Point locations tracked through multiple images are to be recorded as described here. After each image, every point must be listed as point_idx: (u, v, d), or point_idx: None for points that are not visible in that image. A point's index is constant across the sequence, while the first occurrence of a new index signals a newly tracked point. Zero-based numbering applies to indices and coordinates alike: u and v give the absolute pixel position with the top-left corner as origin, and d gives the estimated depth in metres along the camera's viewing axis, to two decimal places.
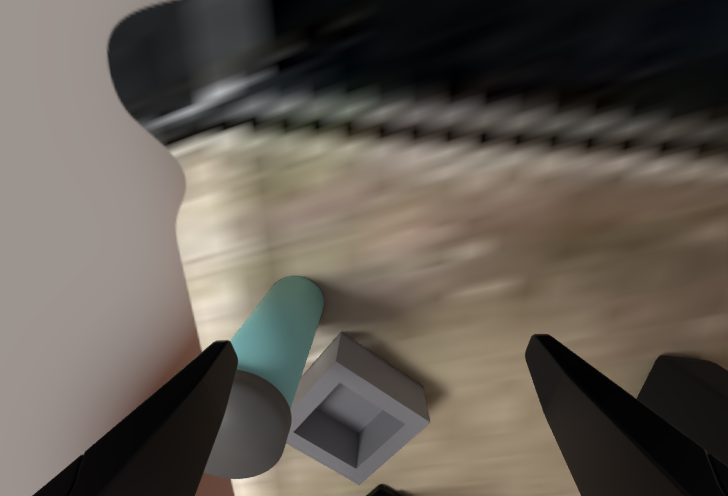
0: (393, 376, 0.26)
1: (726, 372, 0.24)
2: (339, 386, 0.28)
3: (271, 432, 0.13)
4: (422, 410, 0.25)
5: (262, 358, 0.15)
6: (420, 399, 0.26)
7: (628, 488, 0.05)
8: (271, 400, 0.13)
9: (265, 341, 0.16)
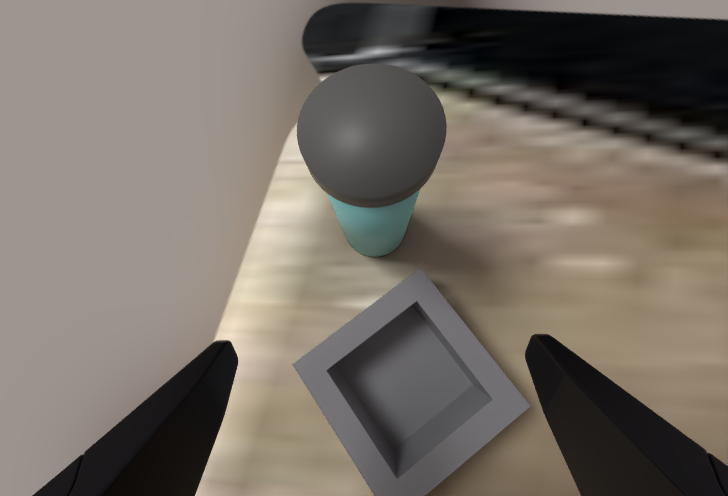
0: None
1: None
2: (391, 351, 0.21)
3: (431, 131, 0.10)
4: None
5: None
6: None
7: (628, 488, 0.05)
8: None
9: None
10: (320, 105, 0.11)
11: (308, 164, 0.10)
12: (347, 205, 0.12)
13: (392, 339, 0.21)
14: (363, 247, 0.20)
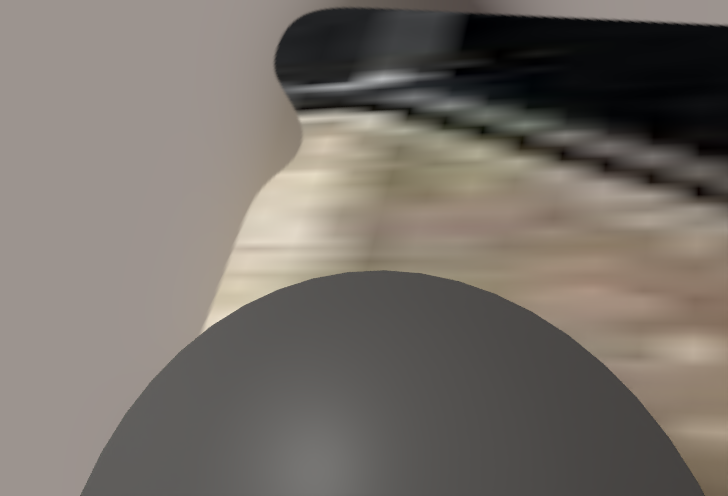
0: None
1: None
2: None
3: None
4: None
5: None
6: None
7: None
8: None
9: None
10: (165, 472, 0.03)
11: None
12: None
13: None
14: None
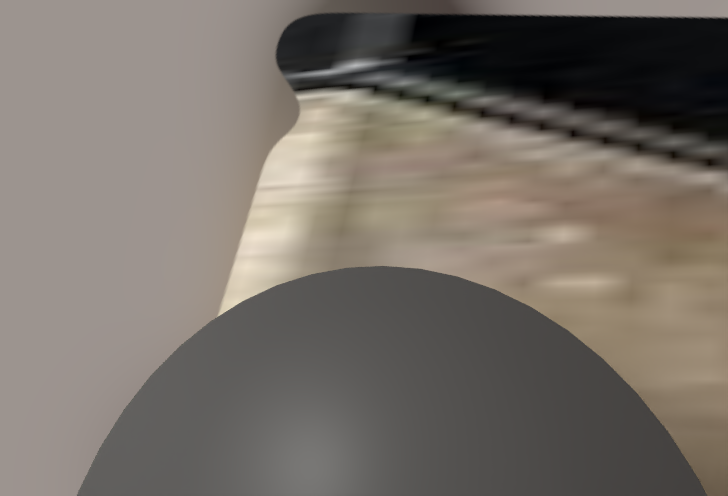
0: None
1: None
2: None
3: None
4: None
5: None
6: None
7: None
8: None
9: None
10: (163, 468, 0.03)
11: None
12: None
13: None
14: None
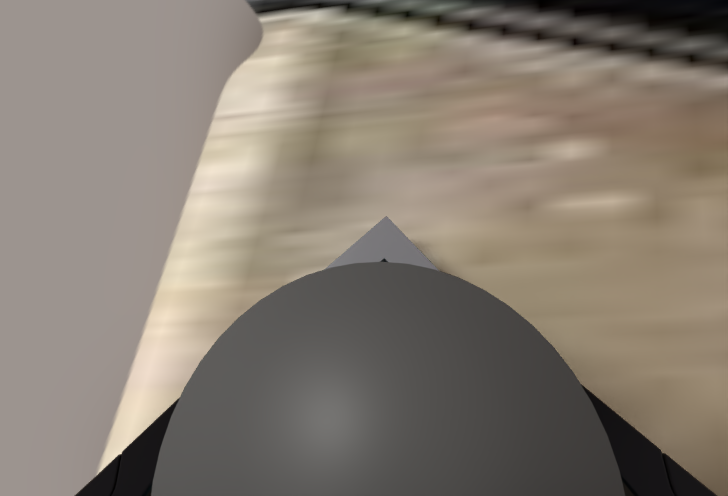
0: None
1: None
2: None
3: None
4: None
5: None
6: None
7: None
8: None
9: None
10: (230, 399, 0.04)
11: None
12: None
13: None
14: None
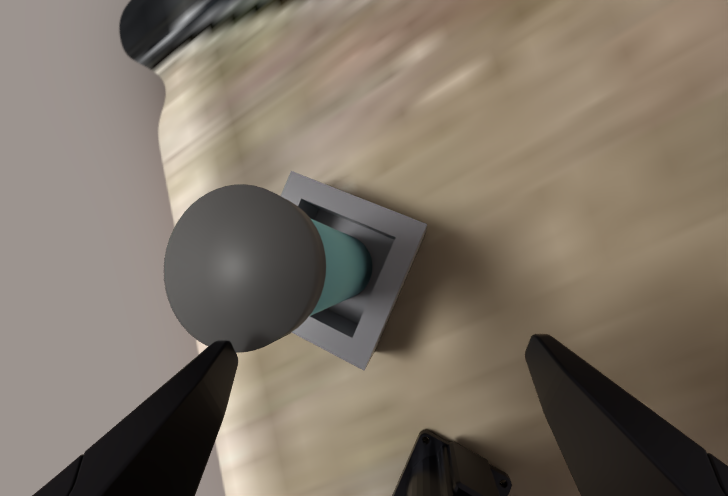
0: None
1: None
2: None
3: (294, 246, 0.09)
4: None
5: None
6: None
7: (628, 488, 0.05)
8: (295, 207, 0.10)
9: None
10: (179, 265, 0.10)
11: (194, 335, 0.10)
12: None
13: None
14: None
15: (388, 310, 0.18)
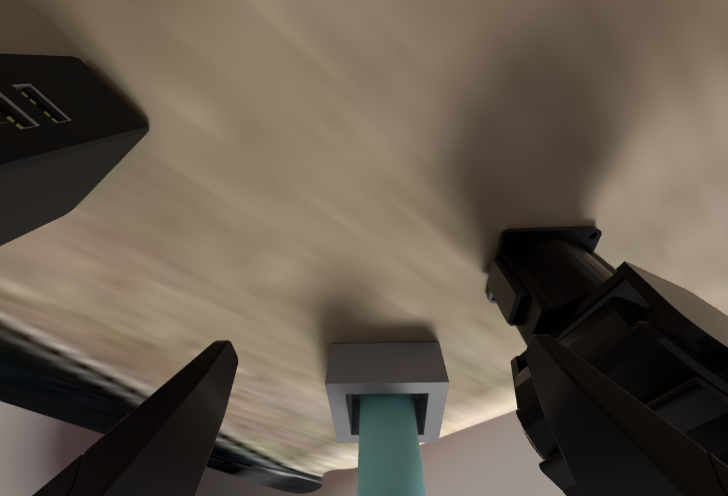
0: None
1: None
2: None
3: None
4: None
5: None
6: None
7: (628, 488, 0.05)
8: None
9: None
10: None
11: None
12: None
13: None
14: (411, 400, 0.25)
15: (397, 383, 0.23)
